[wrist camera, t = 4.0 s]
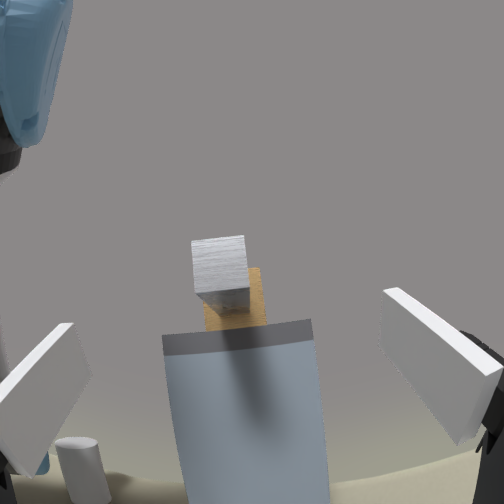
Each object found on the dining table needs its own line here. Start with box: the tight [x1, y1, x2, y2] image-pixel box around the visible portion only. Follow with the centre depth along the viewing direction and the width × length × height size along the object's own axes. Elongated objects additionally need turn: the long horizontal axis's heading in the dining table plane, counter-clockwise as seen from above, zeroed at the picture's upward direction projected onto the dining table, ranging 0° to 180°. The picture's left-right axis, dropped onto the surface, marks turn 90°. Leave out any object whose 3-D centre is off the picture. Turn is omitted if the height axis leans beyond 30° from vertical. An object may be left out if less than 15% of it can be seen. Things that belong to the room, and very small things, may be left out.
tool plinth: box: [162, 319, 330, 504], centre depth 31 cm, size 16×14×30 cm
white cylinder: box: [55, 437, 112, 504], centre depth 36 cm, size 8×8×12 cm
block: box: [191, 235, 267, 332], centre depth 28 cm, size 24×6×6 cm, turn 0°
